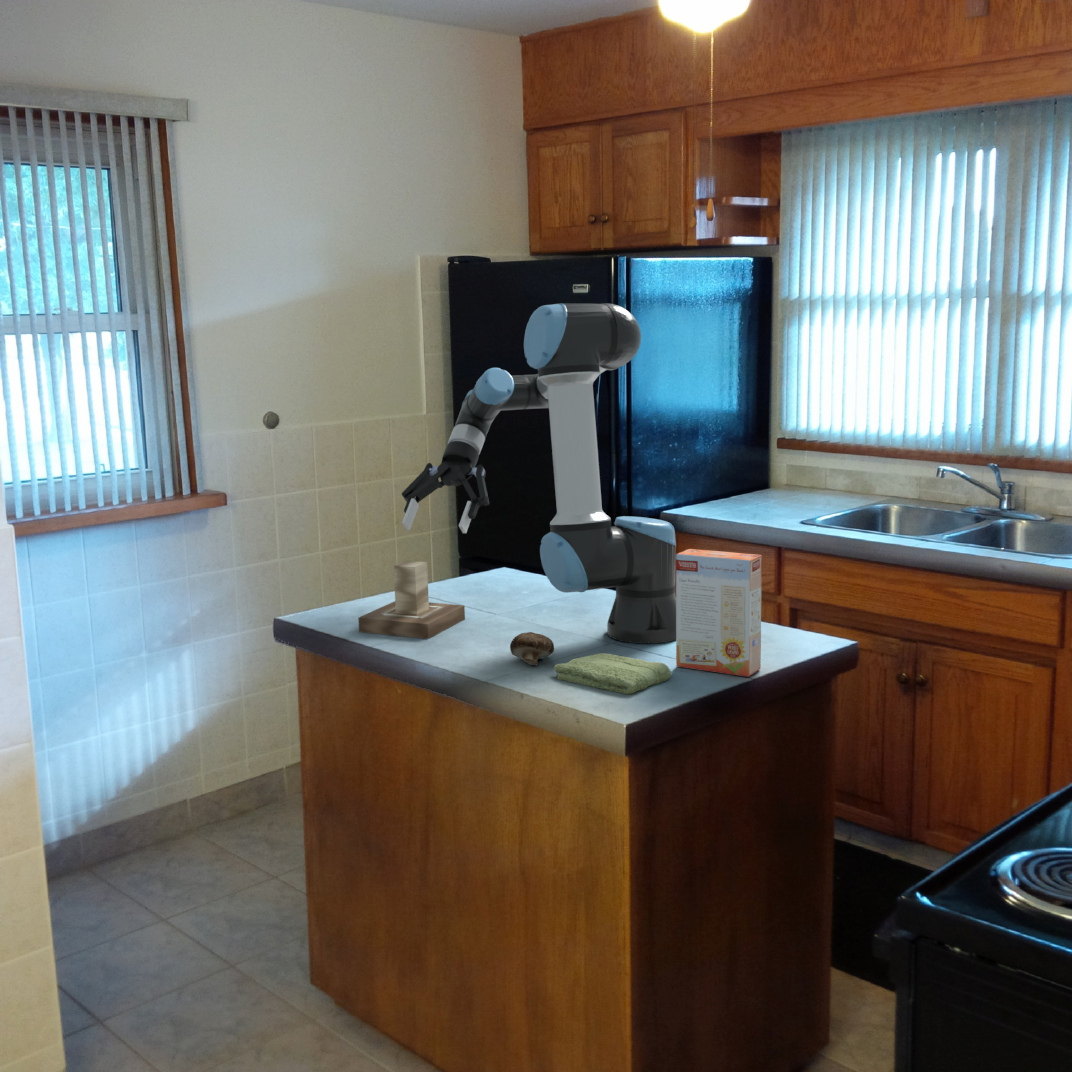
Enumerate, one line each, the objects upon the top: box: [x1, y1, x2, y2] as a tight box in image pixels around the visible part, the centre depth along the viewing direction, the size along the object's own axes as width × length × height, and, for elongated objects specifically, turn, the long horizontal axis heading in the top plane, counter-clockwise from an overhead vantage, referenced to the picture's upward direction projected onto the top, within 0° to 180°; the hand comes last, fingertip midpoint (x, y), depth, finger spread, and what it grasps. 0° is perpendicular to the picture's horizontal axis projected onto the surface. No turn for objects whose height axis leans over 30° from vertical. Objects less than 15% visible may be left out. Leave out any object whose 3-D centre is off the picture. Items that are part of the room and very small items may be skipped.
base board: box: [357, 600, 466, 640], centre depth 238 cm, size 16×16×3 cm
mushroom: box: [509, 631, 555, 666], centre depth 211 cm, size 8×8×6 cm
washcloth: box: [553, 652, 672, 695], centre depth 201 cm, size 13×18×3 cm
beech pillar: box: [393, 560, 430, 615], centre depth 237 cm, size 5×5×10 cm
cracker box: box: [675, 548, 762, 678], centre depth 203 cm, size 14×6×21 cm, turn 58°
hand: (433, 528), depth 245 cm, fingers open, 13 cm apart
